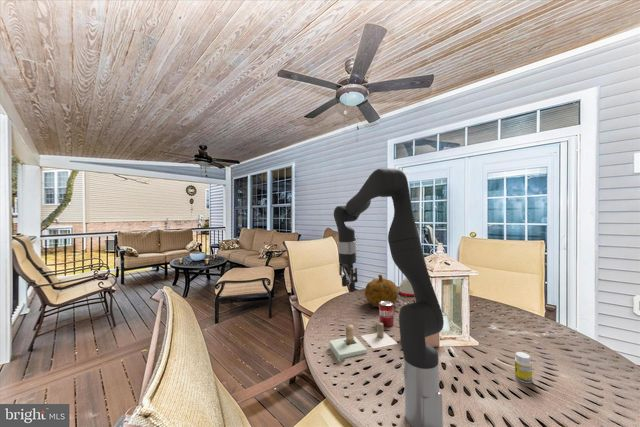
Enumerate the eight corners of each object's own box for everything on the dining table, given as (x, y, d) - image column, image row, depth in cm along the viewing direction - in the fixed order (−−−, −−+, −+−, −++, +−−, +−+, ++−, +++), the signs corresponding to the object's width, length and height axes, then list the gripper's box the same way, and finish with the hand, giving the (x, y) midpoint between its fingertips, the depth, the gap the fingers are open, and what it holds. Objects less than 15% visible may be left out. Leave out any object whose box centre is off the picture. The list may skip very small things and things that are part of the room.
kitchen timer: (399, 295, 180) (398, 274, 179) (399, 289, 193) (399, 269, 192) (420, 297, 175) (420, 275, 175) (419, 290, 188) (419, 270, 188)
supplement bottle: (515, 372, 93) (514, 349, 93) (532, 378, 90) (531, 353, 90) (514, 379, 89) (514, 355, 89) (532, 385, 86) (531, 360, 86)
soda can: (394, 330, 129) (393, 306, 129) (379, 329, 130) (378, 305, 130) (393, 323, 136) (392, 301, 136) (379, 323, 137) (378, 300, 137)
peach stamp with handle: (439, 348, 110) (438, 314, 110) (417, 353, 107) (416, 318, 107) (422, 337, 121) (421, 305, 121) (401, 341, 118) (400, 309, 118)
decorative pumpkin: (403, 300, 167) (400, 270, 165) (393, 315, 149) (390, 281, 148) (373, 297, 177) (370, 268, 176) (361, 310, 160) (357, 278, 159)
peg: (355, 349, 112) (354, 326, 112) (348, 351, 111) (347, 328, 111) (352, 346, 115) (351, 323, 115) (345, 347, 114) (344, 324, 114)
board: (398, 346, 113) (397, 329, 113) (373, 352, 110) (372, 334, 110) (383, 334, 125) (383, 319, 125) (360, 339, 121) (360, 323, 121)
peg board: (367, 356, 107) (366, 349, 107) (339, 362, 103) (339, 354, 103) (354, 342, 118) (354, 336, 118) (329, 347, 115) (329, 340, 115)
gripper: (333, 250, 118) (334, 285, 119) (345, 254, 105) (346, 295, 105) (348, 248, 121) (349, 283, 121) (362, 253, 107) (363, 292, 107)
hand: (348, 288), depth 113 cm, fingers open, 8 cm apart
